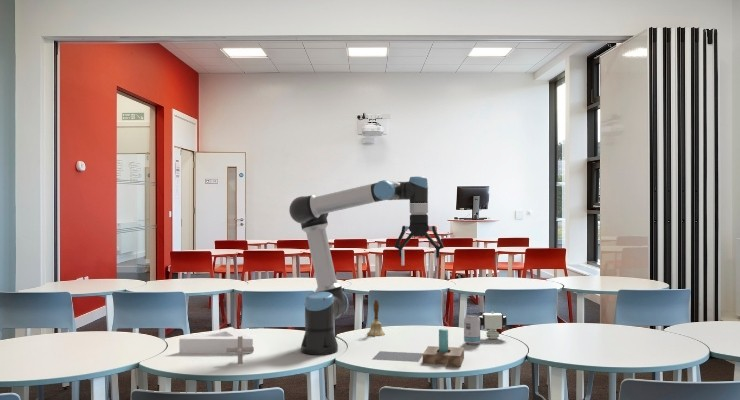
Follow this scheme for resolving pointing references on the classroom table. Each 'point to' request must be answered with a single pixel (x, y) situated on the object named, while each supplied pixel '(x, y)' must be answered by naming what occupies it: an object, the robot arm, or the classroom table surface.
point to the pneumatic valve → (492, 323)
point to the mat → (398, 356)
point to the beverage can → (472, 329)
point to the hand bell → (376, 323)
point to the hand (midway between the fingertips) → (419, 265)
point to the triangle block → (214, 341)
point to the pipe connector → (240, 349)
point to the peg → (443, 340)
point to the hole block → (444, 356)
